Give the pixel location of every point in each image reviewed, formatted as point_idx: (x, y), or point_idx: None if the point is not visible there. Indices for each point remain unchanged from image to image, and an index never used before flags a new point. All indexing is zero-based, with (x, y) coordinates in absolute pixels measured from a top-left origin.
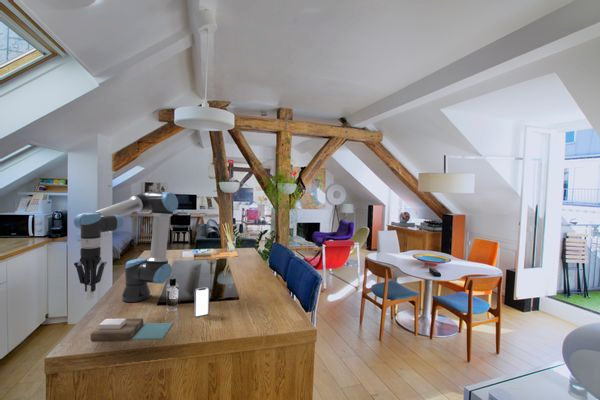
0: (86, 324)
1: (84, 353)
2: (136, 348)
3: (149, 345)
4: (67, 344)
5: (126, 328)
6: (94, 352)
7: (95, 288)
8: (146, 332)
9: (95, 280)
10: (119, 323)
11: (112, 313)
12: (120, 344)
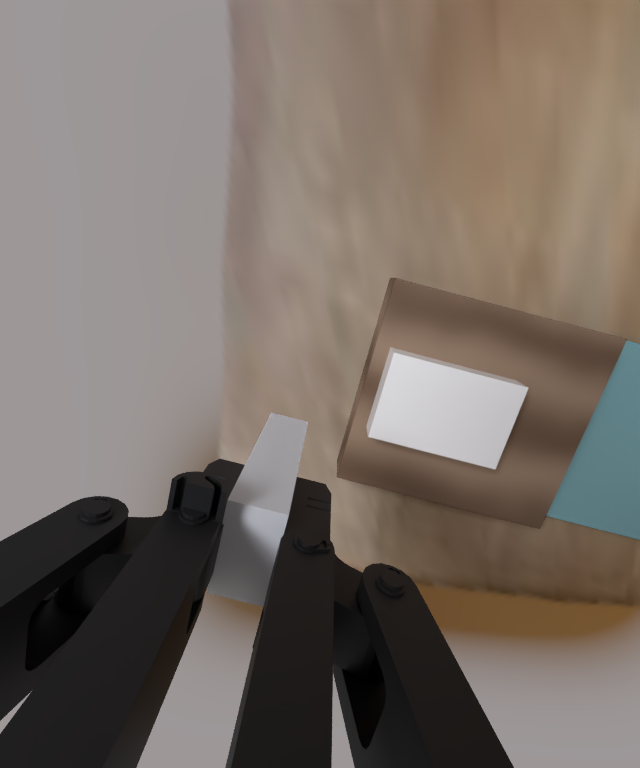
0: (253, 228)
1: None
2: (555, 594)
3: (614, 586)
4: None
5: (522, 465)
6: None
7: (329, 506)
8: (614, 466)
9: (346, 705)
10: (491, 456)
11: (383, 52)
12: (483, 538)
